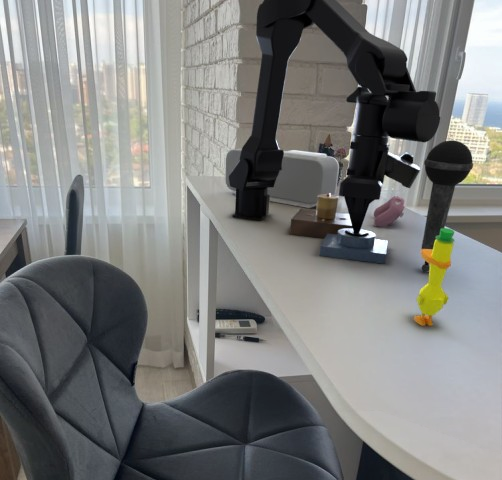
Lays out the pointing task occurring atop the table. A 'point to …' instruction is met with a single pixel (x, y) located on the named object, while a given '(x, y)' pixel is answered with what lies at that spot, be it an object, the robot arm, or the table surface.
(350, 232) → the button
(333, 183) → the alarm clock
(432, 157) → the microphone
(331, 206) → the dial
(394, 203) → the video game controller
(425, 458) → the table surface
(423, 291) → the toy figure
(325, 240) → the button box
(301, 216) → the dial panel
